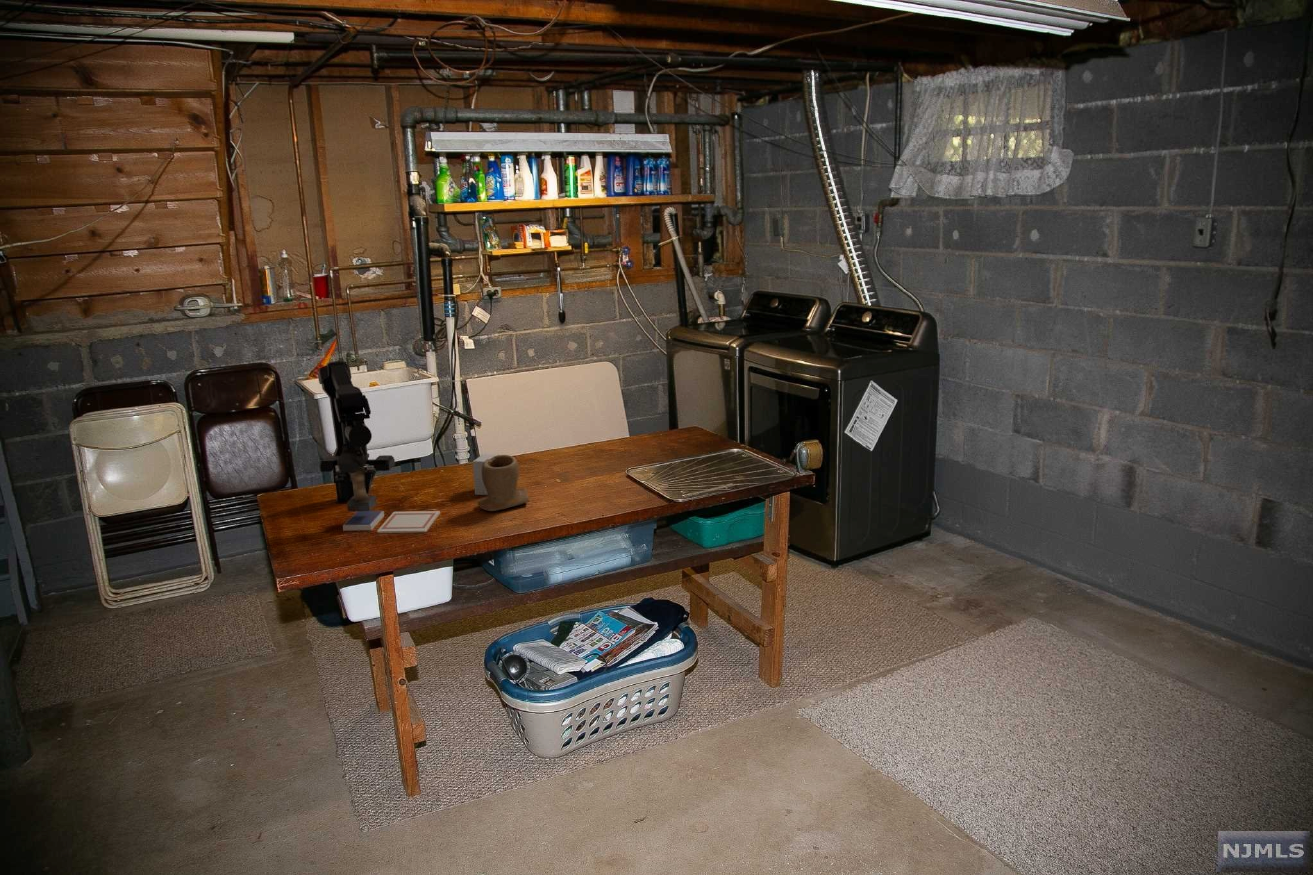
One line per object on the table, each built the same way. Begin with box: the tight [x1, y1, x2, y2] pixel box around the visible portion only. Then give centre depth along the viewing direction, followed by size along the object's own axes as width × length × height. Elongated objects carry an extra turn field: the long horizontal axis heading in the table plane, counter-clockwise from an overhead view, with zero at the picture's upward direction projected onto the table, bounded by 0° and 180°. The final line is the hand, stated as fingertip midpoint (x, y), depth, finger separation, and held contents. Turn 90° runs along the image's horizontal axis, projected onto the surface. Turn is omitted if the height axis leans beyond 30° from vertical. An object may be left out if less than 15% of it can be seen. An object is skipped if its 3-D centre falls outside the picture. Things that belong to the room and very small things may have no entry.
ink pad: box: [342, 510, 385, 532], centre depth 248 cm, size 8×11×2 cm
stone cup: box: [477, 454, 531, 512], centre depth 257 cm, size 15×12×15 cm
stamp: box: [346, 467, 378, 512], centre depth 245 cm, size 6×6×12 cm
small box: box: [472, 453, 498, 496], centre depth 271 cm, size 8×6×10 cm
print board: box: [376, 510, 441, 534], centre depth 248 cm, size 13×15×1 cm
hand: (360, 493), depth 246 cm, fingers closed on stamp, 4 cm apart
